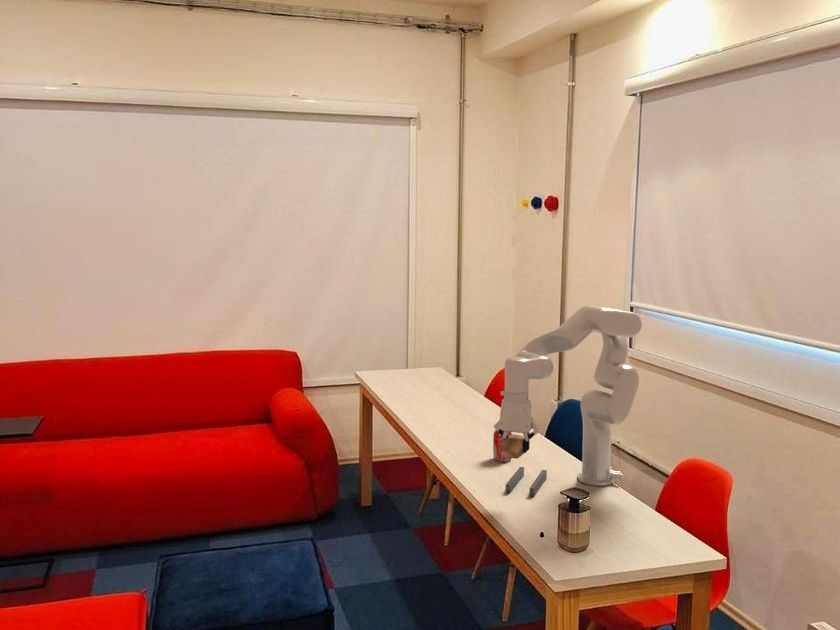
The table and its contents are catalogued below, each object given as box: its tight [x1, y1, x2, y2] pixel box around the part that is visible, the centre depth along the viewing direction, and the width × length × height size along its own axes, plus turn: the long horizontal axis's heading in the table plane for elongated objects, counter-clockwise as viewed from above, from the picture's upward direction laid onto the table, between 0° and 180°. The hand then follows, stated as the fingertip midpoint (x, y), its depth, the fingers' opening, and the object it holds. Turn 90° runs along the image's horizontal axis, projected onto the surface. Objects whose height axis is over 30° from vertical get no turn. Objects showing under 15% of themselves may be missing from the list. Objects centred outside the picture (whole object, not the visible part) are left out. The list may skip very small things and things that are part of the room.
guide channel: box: [505, 466, 548, 498], centre depth 256 cm, size 10×18×3 cm, turn 157°
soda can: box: [492, 428, 513, 463], centre depth 281 cm, size 7×7×12 cm
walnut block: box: [503, 433, 525, 460], centre depth 239 cm, size 5×8×5 cm, turn 150°
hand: (516, 450), depth 241 cm, fingers closed on walnut block, 5 cm apart
